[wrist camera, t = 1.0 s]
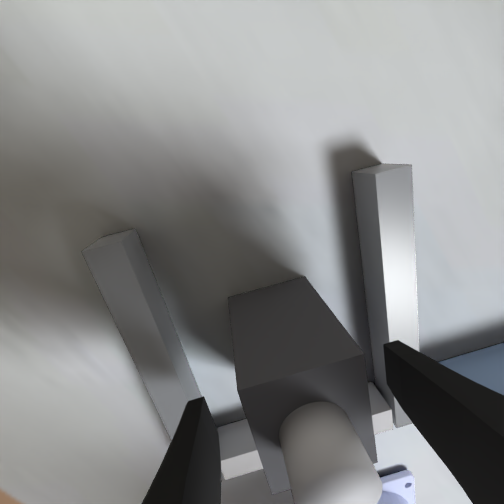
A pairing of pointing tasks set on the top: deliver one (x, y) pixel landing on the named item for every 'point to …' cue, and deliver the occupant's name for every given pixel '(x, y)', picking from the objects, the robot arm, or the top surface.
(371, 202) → the cable duct
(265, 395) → the cord connector
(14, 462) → the top surface
